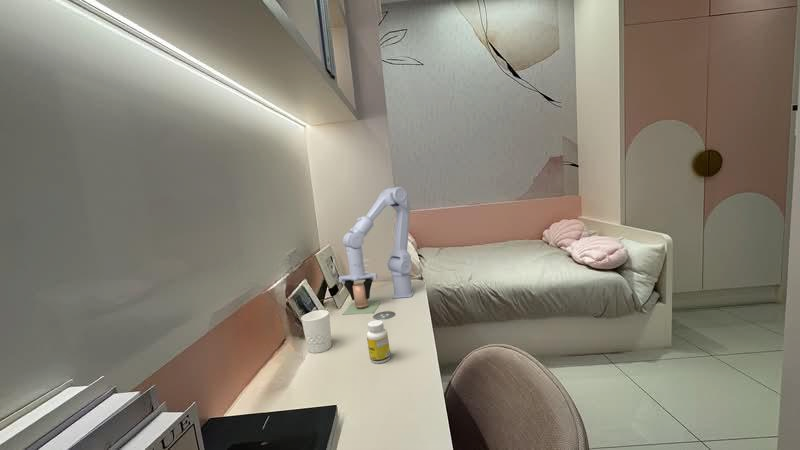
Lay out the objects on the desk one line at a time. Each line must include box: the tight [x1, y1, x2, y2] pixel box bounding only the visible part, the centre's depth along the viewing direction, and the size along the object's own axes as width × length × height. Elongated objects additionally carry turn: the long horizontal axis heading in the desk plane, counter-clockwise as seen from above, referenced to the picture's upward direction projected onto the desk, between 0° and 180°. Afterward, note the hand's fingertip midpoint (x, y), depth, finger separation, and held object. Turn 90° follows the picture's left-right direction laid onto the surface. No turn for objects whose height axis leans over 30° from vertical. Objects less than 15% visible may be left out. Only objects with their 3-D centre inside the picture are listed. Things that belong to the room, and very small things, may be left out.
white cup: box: [300, 309, 333, 354], centre depth 102 cm, size 8×8×10 cm
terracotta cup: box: [352, 282, 369, 308], centre depth 132 cm, size 5×5×8 cm
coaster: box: [372, 310, 396, 321], centre depth 122 cm, size 8×8×1 cm
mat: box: [342, 300, 381, 316], centre depth 133 cm, size 12×12×1 cm
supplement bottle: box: [366, 319, 391, 364], centre depth 90 cm, size 5×5×10 cm
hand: (360, 298), depth 133 cm, fingers open, 5 cm apart
